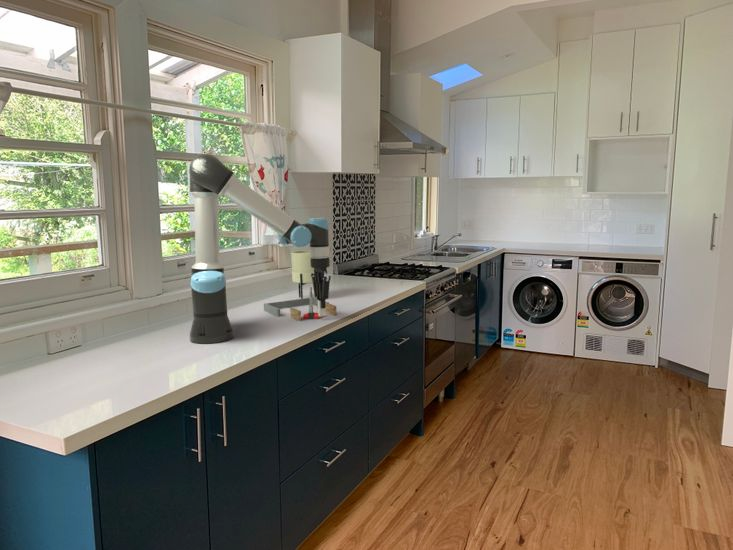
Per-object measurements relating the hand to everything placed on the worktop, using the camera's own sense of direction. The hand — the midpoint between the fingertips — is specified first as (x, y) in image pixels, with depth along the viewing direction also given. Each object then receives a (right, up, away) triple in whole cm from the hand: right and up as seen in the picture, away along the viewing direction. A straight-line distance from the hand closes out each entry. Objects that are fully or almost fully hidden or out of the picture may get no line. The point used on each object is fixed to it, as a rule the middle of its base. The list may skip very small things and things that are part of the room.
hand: (322, 315), depth 225 cm
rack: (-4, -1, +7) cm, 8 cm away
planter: (-10, +4, +45) cm, 46 cm away
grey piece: (-13, +1, +21) cm, 25 cm away
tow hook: (-4, -1, +7) cm, 8 cm away
